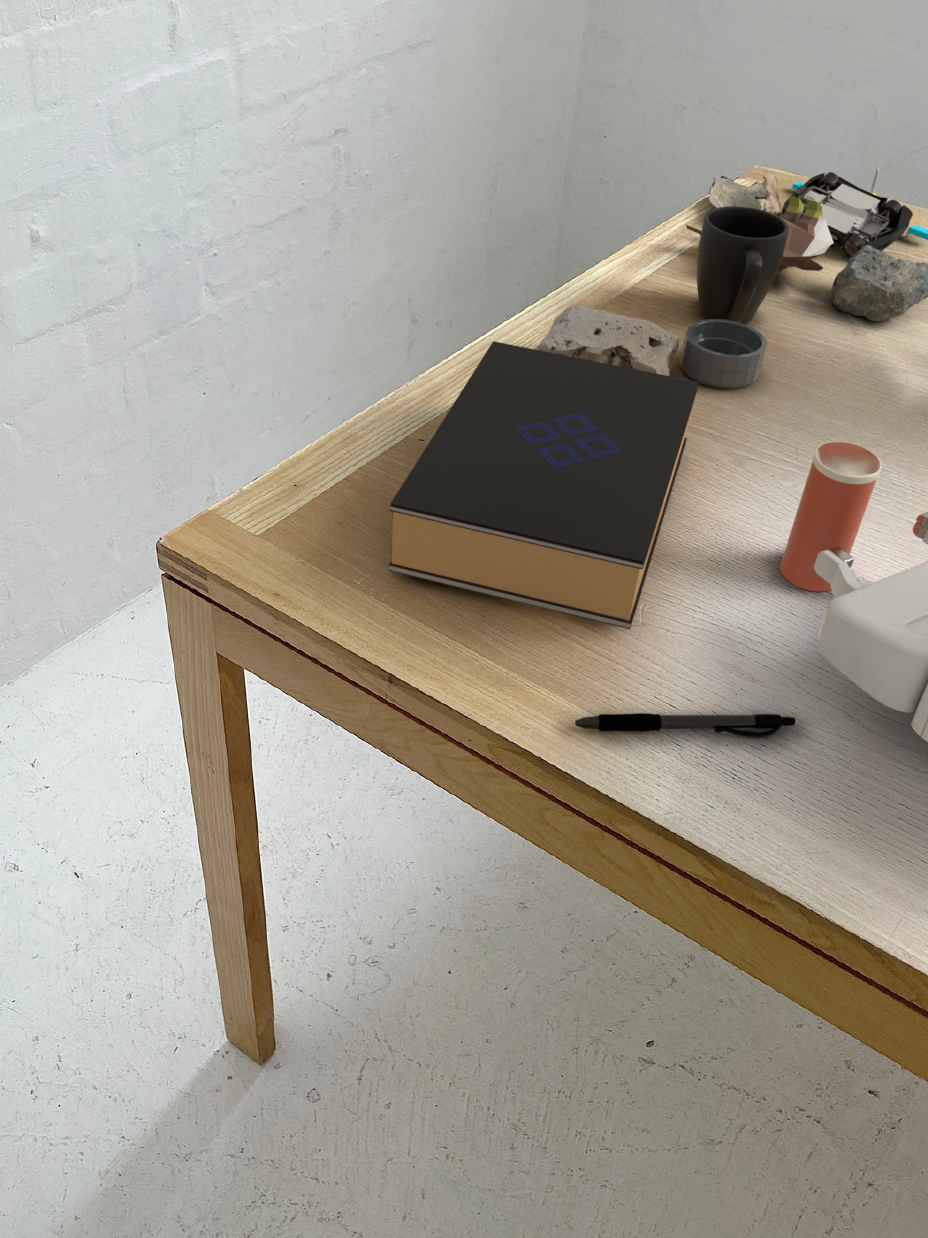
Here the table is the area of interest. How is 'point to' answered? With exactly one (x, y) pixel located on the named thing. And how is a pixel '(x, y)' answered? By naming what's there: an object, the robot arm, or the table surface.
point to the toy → (802, 235)
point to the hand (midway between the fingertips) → (874, 537)
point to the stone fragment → (747, 195)
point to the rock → (879, 285)
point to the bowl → (722, 353)
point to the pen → (688, 723)
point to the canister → (829, 509)
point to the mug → (738, 261)
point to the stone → (611, 340)
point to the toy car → (854, 213)
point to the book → (546, 483)
